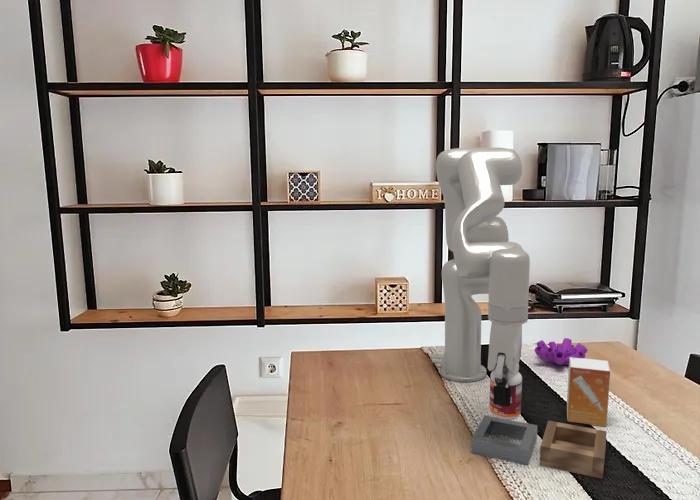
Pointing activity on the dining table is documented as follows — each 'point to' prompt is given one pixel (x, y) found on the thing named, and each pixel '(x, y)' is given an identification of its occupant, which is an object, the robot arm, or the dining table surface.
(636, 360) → the dining table surface
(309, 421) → the dining table surface
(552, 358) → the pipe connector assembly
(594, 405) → the small box
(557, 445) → the tray
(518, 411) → the pill bottle
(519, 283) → the robot arm
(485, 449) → the socket block
